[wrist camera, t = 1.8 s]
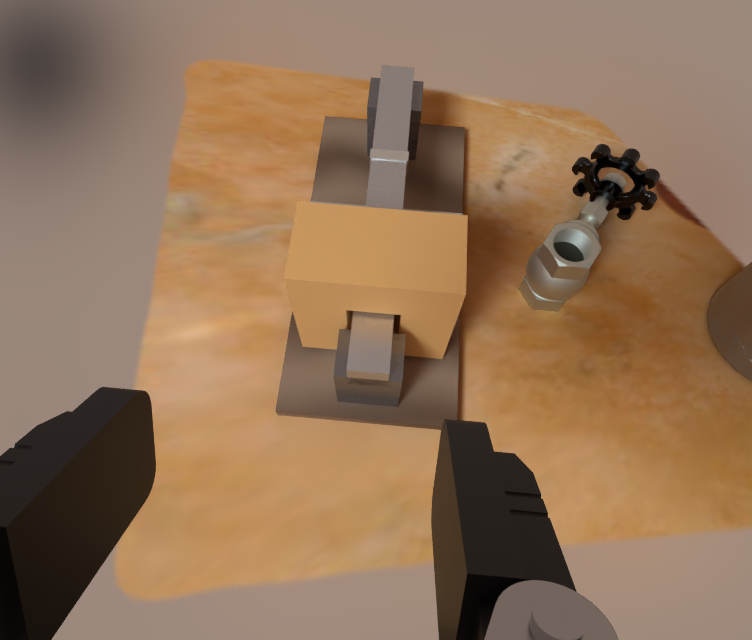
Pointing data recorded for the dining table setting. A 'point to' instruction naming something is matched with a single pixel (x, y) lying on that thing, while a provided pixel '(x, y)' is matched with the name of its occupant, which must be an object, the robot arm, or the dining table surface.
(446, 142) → the board
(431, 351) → the collar
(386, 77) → the rectangular bar
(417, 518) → the dining table surface
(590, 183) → the valve
